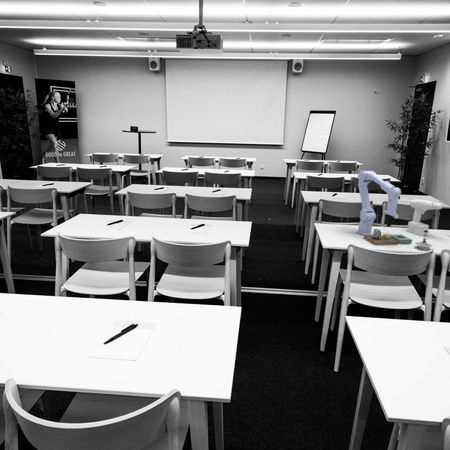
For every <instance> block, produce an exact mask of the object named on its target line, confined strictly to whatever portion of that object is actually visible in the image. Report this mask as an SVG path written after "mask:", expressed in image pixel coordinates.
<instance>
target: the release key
mask: <svg viewBox="0 0 450 450" xmlns="http://www.w3.org/2000/svg"><path fill="white" fill-rule="evenodd" d="M390 234H391V233H383V234H382V235H383V236H384V239H390V237H392V235H390Z"/></svg>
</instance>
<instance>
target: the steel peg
mask: <svg viewBox="0 0 450 450" xmlns="http://www.w3.org/2000/svg"><path fill="white" fill-rule="evenodd" d="M372 234H373V240H379V236H380V234H381V230H380V229H377V228H375V229H373V233H372Z"/></svg>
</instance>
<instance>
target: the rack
mask: <svg viewBox="0 0 450 450" xmlns="http://www.w3.org/2000/svg"><path fill="white" fill-rule="evenodd" d="M389 234H390V235H392V237H390V238H392V239H393V240H395V241H397V242H398V243H397V245H412V242H413V239H412V238H410V237H408V236H406V235H403V234H402V233H396V234H395V233H393V234H392V233H389Z"/></svg>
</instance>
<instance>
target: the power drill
mask: <svg viewBox="0 0 450 450" xmlns="http://www.w3.org/2000/svg"><path fill="white" fill-rule="evenodd" d="M409 205H410V207H411V208H413V209H414V213H413V217H412V220H411V221H408V224H407V232H408V233H411V234H414V235H417V236H420V235H421V237H422V236H423V237H426V236H427V235H428V233H426V232H424V231H425V230H427V231H428V232H429V227H430V225H428V224H425V223H423V222H421V218H422V215H425V212H426V211H428V210H442V209H443V207H444V206H443V204H442V203H440V202H436V201H432V200H427V199H418V198H417V199H414V198H413V199H411V200H410V201H409ZM425 233H426V235H425Z"/></svg>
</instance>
